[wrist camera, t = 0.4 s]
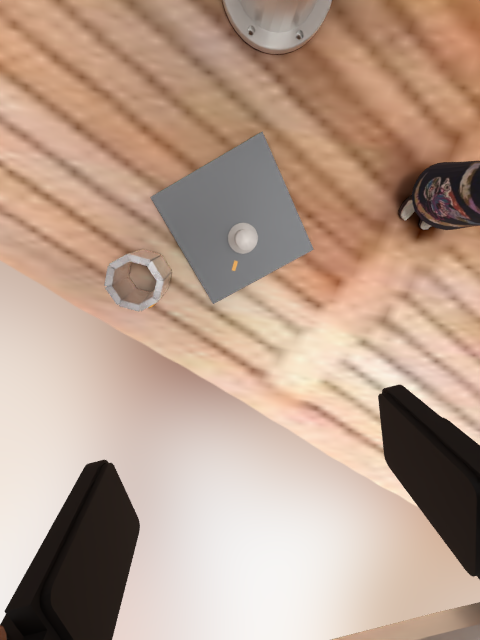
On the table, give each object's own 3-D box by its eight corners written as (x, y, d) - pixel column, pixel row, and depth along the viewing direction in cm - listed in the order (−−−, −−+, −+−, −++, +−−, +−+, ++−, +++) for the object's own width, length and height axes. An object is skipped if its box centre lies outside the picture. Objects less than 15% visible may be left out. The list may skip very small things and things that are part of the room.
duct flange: (152, 197, 38) (140, 192, 32) (261, 134, 37) (269, 117, 31) (213, 302, 43) (212, 313, 37) (311, 249, 41) (326, 252, 36)
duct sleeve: (114, 264, 40) (94, 272, 33) (154, 242, 40) (141, 245, 33) (141, 305, 42) (128, 320, 35) (180, 284, 42) (173, 295, 35)
